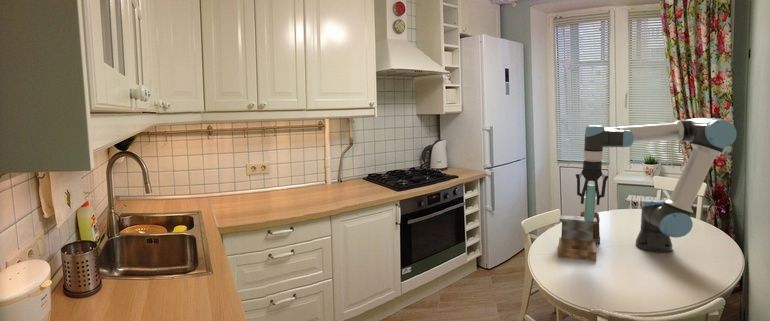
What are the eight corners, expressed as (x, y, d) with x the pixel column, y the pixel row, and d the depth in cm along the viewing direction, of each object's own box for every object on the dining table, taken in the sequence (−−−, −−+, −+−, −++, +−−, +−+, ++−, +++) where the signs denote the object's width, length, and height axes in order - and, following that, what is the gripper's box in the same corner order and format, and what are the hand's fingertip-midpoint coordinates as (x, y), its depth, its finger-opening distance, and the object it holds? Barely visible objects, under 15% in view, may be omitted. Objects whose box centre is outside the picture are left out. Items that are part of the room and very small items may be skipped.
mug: (602, 245, 219) (604, 216, 217) (579, 245, 221) (580, 215, 219) (594, 235, 234) (595, 207, 232) (573, 235, 236) (574, 207, 234)
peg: (593, 219, 205) (595, 184, 202) (593, 221, 201) (596, 186, 199) (583, 218, 206) (586, 184, 204) (584, 220, 202) (586, 185, 200)
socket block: (594, 248, 216) (596, 217, 213) (596, 260, 200) (597, 227, 198) (559, 244, 222) (560, 215, 220) (557, 256, 206) (558, 224, 204)
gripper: (613, 160, 200) (609, 211, 203) (572, 158, 206) (569, 207, 210) (614, 162, 193) (610, 215, 196) (572, 160, 199) (569, 211, 203)
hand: (589, 211), depth 203 cm, fingers closed on peg, 4 cm apart
